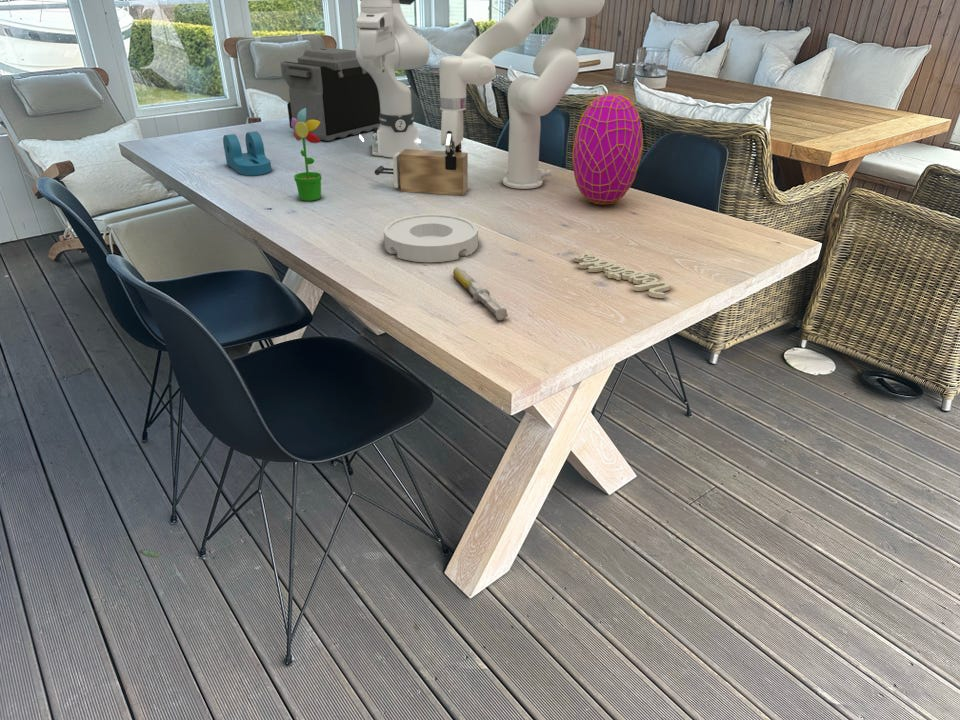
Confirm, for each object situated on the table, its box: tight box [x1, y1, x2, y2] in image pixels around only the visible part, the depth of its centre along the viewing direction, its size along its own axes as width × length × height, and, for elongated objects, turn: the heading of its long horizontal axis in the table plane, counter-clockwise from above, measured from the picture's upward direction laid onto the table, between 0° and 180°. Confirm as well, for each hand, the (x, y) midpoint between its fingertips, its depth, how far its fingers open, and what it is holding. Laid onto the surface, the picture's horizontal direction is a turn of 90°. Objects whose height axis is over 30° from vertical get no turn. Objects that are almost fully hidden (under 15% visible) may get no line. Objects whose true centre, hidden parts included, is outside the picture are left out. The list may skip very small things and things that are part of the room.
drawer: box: [374, 152, 401, 188], centre depth 209 cm, size 25×5×9 cm, turn 79°
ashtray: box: [383, 213, 479, 263], centre depth 170 cm, size 23×23×4 cm
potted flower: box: [291, 108, 323, 202], centre depth 196 cm, size 9×8×25 cm
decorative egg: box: [571, 92, 644, 205], centre depth 194 cm, size 19×19×30 cm
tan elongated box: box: [399, 149, 469, 197], centre depth 208 cm, size 20×6×11 cm, turn 79°
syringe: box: [452, 266, 509, 321], centre depth 145 cm, size 25×4×3 cm, turn 21°
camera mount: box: [222, 131, 272, 176], centre depth 226 cm, size 18×10×10 cm, turn 35°
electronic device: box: [279, 47, 380, 142], centre depth 271 cm, size 37×22×30 cm, turn 144°
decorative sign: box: [574, 252, 671, 299], centre depth 155 cm, size 26×1×10 cm
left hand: (380, 72), depth 196 cm, fingers closed
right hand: (453, 165), depth 205 cm, fingers closed on tan elongated box, 6 cm apart
